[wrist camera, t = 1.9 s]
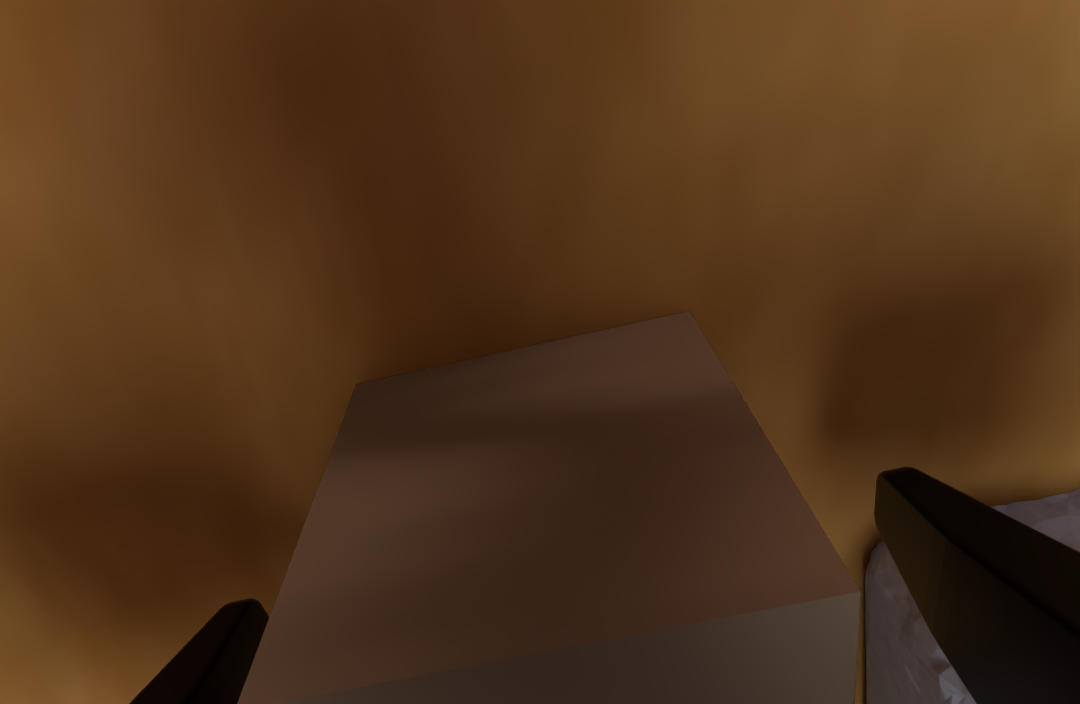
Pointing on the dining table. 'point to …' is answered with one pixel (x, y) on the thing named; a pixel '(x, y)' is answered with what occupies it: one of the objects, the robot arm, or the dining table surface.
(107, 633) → the dining table surface
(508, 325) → the dining table surface
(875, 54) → the dining table surface
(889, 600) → the stone block
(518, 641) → the walnut cube
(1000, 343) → the dining table surface
